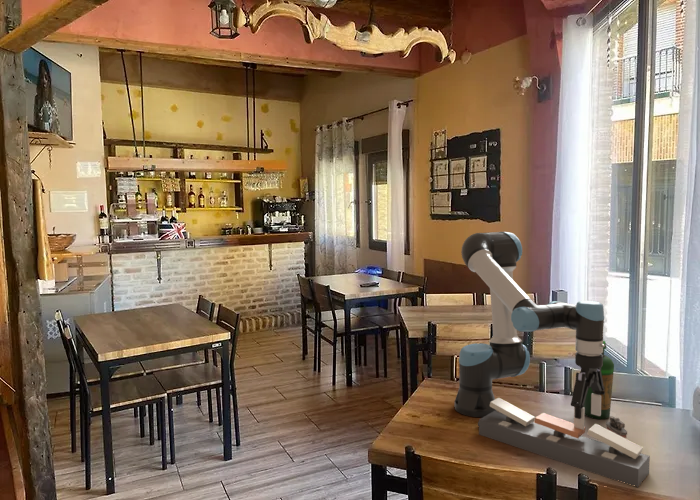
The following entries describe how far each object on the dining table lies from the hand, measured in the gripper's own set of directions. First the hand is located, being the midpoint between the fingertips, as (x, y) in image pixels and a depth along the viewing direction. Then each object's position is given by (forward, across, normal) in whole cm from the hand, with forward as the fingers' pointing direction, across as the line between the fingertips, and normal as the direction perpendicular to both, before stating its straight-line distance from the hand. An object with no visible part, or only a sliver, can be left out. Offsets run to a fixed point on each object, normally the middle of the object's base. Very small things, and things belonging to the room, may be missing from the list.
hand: (587, 421), depth 156 cm
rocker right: (0, -7, -10) cm, 12 cm away
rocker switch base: (+8, -9, +7) cm, 14 cm away
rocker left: (0, -7, +21) cm, 22 cm away
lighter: (+9, +4, -7) cm, 12 cm away
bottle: (+8, +28, +7) cm, 30 cm away
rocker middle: (0, -7, +6) cm, 9 cm away
